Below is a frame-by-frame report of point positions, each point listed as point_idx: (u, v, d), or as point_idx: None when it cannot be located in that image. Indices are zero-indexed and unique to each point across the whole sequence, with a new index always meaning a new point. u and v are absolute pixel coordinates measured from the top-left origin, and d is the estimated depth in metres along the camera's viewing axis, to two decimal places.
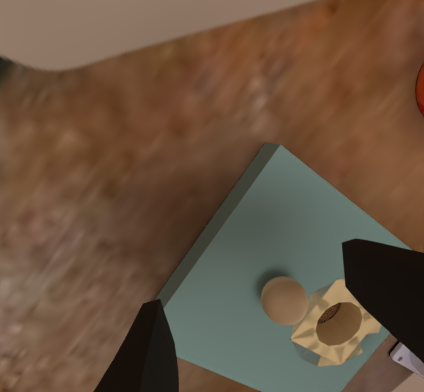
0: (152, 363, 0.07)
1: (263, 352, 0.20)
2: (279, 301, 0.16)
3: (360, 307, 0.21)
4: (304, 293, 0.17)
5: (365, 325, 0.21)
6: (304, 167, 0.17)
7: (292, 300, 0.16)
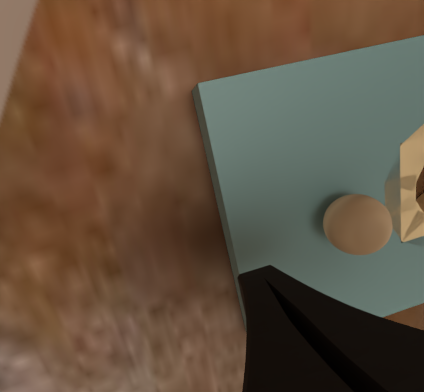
0: None
1: (384, 275, 0.16)
2: (349, 236, 0.12)
3: None
4: (371, 202, 0.12)
5: None
6: (247, 77, 0.12)
7: (362, 224, 0.12)
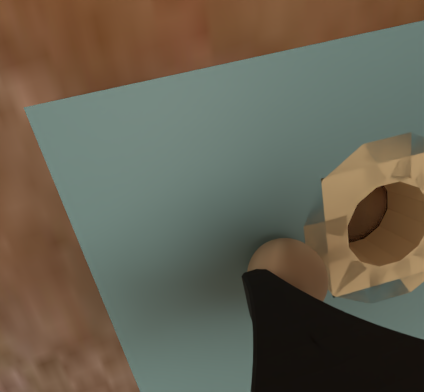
0: None
1: None
2: None
3: (401, 179, 0.11)
4: (303, 245, 0.10)
5: None
6: (93, 98, 0.09)
7: (317, 276, 0.09)
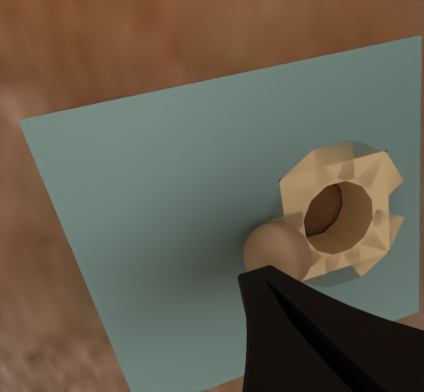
0: None
1: None
2: (310, 252, 0.11)
3: (346, 179, 0.13)
4: (280, 222, 0.12)
5: (376, 190, 0.14)
6: (80, 112, 0.10)
7: None
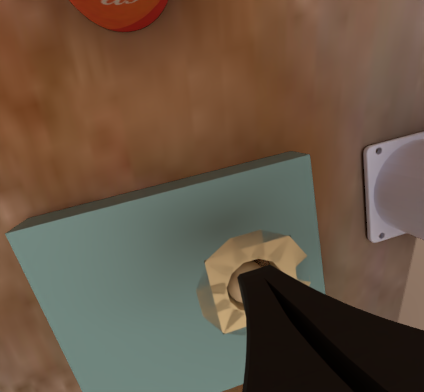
0: None
1: (212, 360, 0.19)
2: None
3: (259, 257, 0.17)
4: (233, 286, 0.18)
5: (284, 263, 0.18)
6: (49, 225, 0.15)
7: None
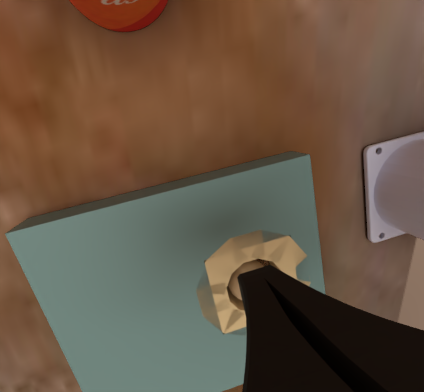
0: None
1: (212, 360, 0.19)
2: None
3: (259, 257, 0.17)
4: (237, 283, 0.18)
5: (284, 263, 0.18)
6: (49, 225, 0.15)
7: None
